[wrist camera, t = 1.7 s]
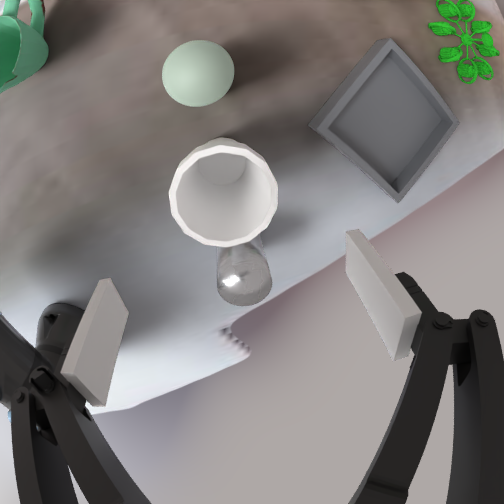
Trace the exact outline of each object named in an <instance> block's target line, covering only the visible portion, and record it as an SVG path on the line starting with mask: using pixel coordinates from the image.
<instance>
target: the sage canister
mask: <svg viewBox="0 0 504 504" xmlns="http://www.w3.org/2000/svg"><path fill="white" fill-rule="evenodd" d="M162 79H163V84H164V87H165V89H166V91H167V92H168V94H169V95H170V96H171V97H172V98H173V99H174V100H176V101H177V102H179V103H181V104H184V105H187V106H194V107H199V106H205V105H209V104H211V103H214V102H216V101H217V100H219V99H220V98H222V97H223V96H224V95H225V94H226V92H227V91H228V90H229V88H230V87H231V84H232V82H233V79H234V65H233V61H232V59H231V57H230V55H229V54H228V53H227V51H226V50H225V49H224V48H222V47H221V46H219V45H218V44H216V43H213V42H210V41H205V40H196V41H190V42H187V43H185V44H182V45H181V46H179V47H177V48H176V49H175V50H174V51H173V52H172V53H171V54H170V55H169V56H168V58H167V60H166V62H165V64H164V67H163V72H162Z"/></svg>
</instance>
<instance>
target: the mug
mask: <svg viewBox="0 0 504 504" xmlns="http://www.w3.org/2000/svg"><path fill="white" fill-rule="evenodd" d="M28 2H29V6H30V9H31V26H28V25H27V24H25V23H24V22H22V21H21V20H19V19H18V18H17V13H18V8H19V4H20V0H6V1H5V6H4V11H3V15H2V16H0V93H2V92H3V91H5V90H7V89H8V88H11V87H13V86H15V85H17V84H19V83H20V82H22V81H23V80H25V79H27V78H28V77H30V76H32V75H33V74H34V73H35V72H37V71H38V70H39V69H40V68H41V67H42V66H43V65H44V64H45V62H46V60H47V57H48V52H49V49H48V45H47V43H46V42H45V40H44V39H43V32H44V19H45V7H44V1H43V0H28Z"/></svg>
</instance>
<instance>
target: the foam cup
mask: <svg viewBox="0 0 504 504" xmlns="http://www.w3.org/2000/svg"><path fill="white" fill-rule="evenodd" d="M169 199H170V206H171V213H172V216H173V217H174V219H175V220H176V222H177V223H178V224H179V226H180V227H181V229H182V230H183V231H184V233H185V234H187V235H189V236H190V237H192V238H194V239H196V240H197V241H199V242H201V243H203V244H204V245H212V246H220V247H230V246H234V245H238V244H241V243H245V242H249V241H250V240H252V239H253V238H254V237H255V236H257V235H258V234H259V233H261V232H262V231H263V230H264V229H266V228H267V227H268V225H269V223H270V221H271V219H272V217H273V215H274V213H275V211H276V209H277V207H278V184H277V182H276V180H275V178H274V176H273V174H272V172H271V170H270V168H269V167H268V165H267V163H266V161H265V159H264V158H263V157H262V156H261V155H260V154H258V153H257V152H255V151H254V150H253V149H251V148H250V147H248V146H247V145H245V144H243V143H238V142H237V141H235V140H233V139H230V138H223V137H220V138H216V139H213V140H210V141H208V142H207V143H205V144H204V145H201V146H198V147H196V148H195V149H194V150H193V151H192V152H191V153H190V154H189V155H188V156H187V157H186V158H185V159H183V160H182V161H181V162H180V164H179V166H178V168H177V170H176V173H175V176H174V178H173V181H172V184H171V187H170V190H169Z"/></svg>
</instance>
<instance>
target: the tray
mask: <svg viewBox="0 0 504 504" xmlns="http://www.w3.org/2000/svg"><path fill="white" fill-rule="evenodd" d="M458 125H459V121H458V120H457V118H456V117H455V115H454V114H453V113H452V111H451V110H450V108H449V107H448V105H447V104H446V103H445V101H444V100H443V99H442V97H441V96H440V95H439V93H438V92H437V91H436V89H435V88H434V87H433V86H432V84H431V83H430V82H429V81H428V79H427V78H426V77H425V76H424V74H423V73H422V72H421V71H420V70H419V68H418V67H417V66H416V65H415V64H414V63H413V62H412V60H411V59H410V58H409V57H408V56H407V55H406V54H405V53H404V52H403V51H402V49H401V48H400V47H399V46H398V45H397V44H396V43H395V42H394V41H393V40H392V39H391V38H387V39H381V40H377V41H376V42H375V43H374V45H373V46H372V47H371V48H370V49H369V51H368V52H367V53H366V54H365V55H364V56H363V58H362V59H361V60H360V61H359V62H358V64H357V65H356V66H355V67H354V69H353V70H352V71H351V72H350V73H349V75H348V76H347V77H346V78H345V79H344V81H343V82H342V83H341V84H340V86H339V87H338V88H337V89H336V91H335V92H334V93H333V94H332V96H331V97H330V98H329V99H328V100H327V102H326V103H325V104H324V105H323V107H322V108H321V109H320V111H319V112H318V113H317V114H316V116H315V117H314V118H313V119H312V121H311V122H310V123H309V124H308V126H309V127H310V128H312V129H313V130H314V131H315V132H317V133H318V134H319V135H320V136H322V137H323V138H324V139H325V140H327V141H328V142H329V143H330V144H331V145H333V146H334V147H335V148H336V149H337V150H339V151H340V152H341V153H342V154H343V155H344V156H346V157H347V158H348V159H349V160H350V161H351V162H352V163H354V164H355V165H356V166H357V167H358V168H359V169H360V170H361V171H363V172H364V173H365V174H366V175H367V176H368V177H369V178H370V179H371V180H372V181H373V182H375V183H376V184H377V185H378V186H379V187H380V188H381V189H382V190H383V191H384V192H385V193H386V194H387V195H388V196H390V197H391V198H392V199H393V200H395V201H396V202H397V203H399V202H400V201H401V199H402V198H403V197H404V196H405V195H406V193H407V192H408V191H409V190H410V188H411V187H412V186H413V185H414V183H415V182H416V181H417V180H418V178H419V177H420V176H421V174H422V173H423V172H424V171H425V169H426V168H427V167H428V165H429V164H430V163H431V162H432V160H433V159H434V158H435V156H436V155H437V154H438V152H439V151H440V150H441V148H442V147H443V146H444V144H445V143H446V141H447V140H448V139H449V137H450V136H451V135H452V133H453V132H454V130H455V129H456V128H457V126H458Z"/></svg>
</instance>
